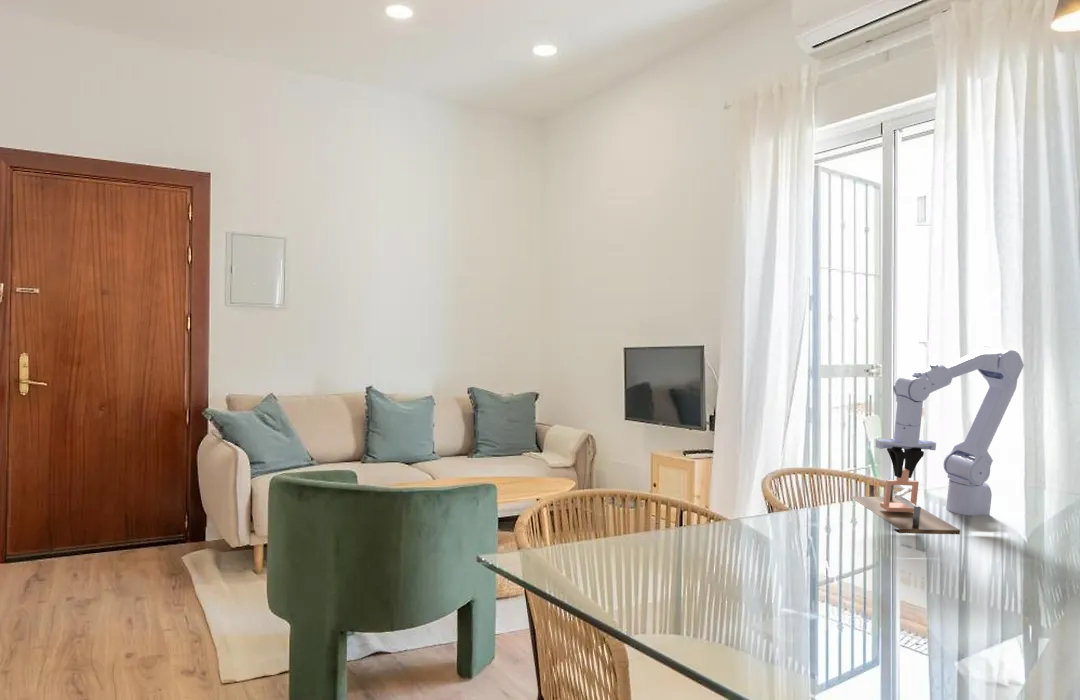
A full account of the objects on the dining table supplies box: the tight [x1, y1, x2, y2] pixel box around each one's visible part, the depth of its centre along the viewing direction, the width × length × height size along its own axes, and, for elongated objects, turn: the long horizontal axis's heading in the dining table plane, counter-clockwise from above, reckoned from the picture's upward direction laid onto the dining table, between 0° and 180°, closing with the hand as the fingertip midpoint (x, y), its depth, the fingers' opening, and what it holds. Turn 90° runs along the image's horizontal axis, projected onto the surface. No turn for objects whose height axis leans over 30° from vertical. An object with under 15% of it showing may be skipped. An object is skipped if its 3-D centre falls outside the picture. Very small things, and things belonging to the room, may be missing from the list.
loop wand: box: [880, 467, 920, 512], centre depth 189 cm, size 8×4×10 cm, turn 93°
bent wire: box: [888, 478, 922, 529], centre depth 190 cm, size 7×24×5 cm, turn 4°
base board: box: [850, 496, 961, 535], centre depth 190 cm, size 15×25×1 cm, turn 4°
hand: (902, 476), depth 189 cm, fingers closed on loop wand, 2 cm apart
